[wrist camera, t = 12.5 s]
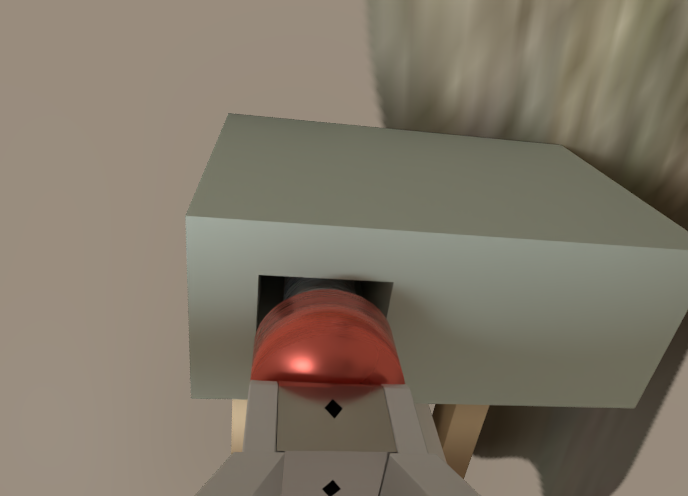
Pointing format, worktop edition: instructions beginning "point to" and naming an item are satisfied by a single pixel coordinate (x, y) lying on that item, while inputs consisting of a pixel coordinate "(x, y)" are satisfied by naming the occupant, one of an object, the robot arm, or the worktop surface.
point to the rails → (450, 421)
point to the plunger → (325, 337)
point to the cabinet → (436, 260)
